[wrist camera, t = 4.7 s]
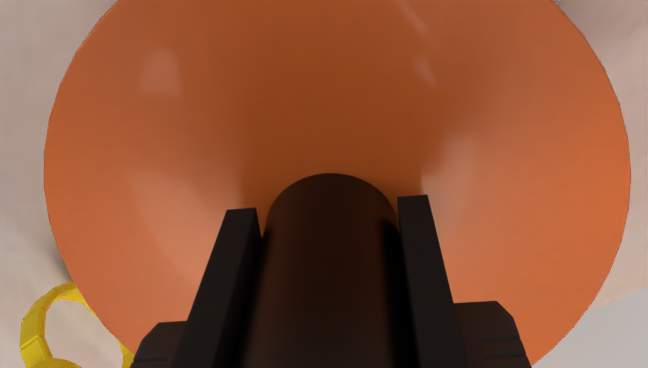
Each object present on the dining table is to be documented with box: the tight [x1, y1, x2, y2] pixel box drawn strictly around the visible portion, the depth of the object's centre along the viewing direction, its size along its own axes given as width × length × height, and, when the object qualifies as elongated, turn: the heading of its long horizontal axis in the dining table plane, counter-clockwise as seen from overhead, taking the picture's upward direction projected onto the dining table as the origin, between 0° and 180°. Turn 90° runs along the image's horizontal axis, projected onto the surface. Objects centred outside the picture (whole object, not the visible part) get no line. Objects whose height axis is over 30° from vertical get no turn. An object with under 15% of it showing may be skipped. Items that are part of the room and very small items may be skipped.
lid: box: [44, 0, 631, 368], centre depth 13 cm, size 16×16×9 cm
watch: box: [20, 281, 135, 368], centre depth 28 cm, size 6×3×6 cm, turn 39°
